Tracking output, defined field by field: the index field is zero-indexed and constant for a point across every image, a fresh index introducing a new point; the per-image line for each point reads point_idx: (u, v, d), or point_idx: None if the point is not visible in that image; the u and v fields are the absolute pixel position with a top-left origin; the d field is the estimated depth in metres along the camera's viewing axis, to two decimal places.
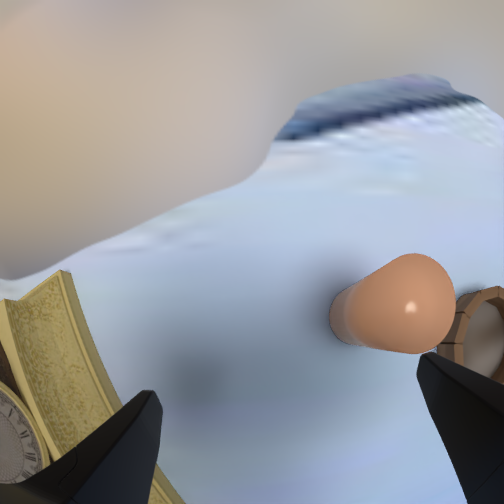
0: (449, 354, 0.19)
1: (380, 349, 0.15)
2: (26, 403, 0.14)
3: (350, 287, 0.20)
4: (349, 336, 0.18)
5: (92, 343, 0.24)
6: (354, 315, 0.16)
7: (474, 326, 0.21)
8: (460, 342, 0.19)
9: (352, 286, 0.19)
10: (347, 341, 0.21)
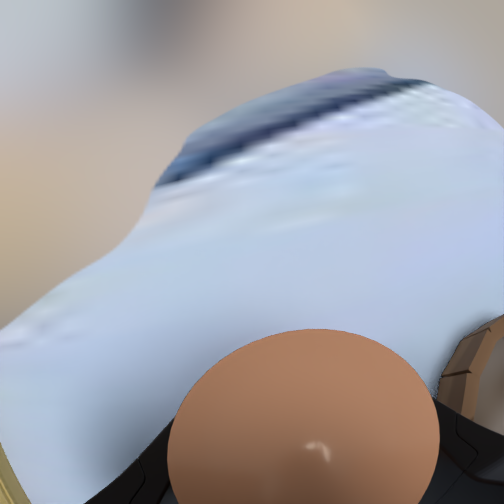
0: None
1: None
2: None
3: None
4: None
5: None
6: None
7: (488, 377, 0.12)
8: (470, 417, 0.10)
9: None
10: None
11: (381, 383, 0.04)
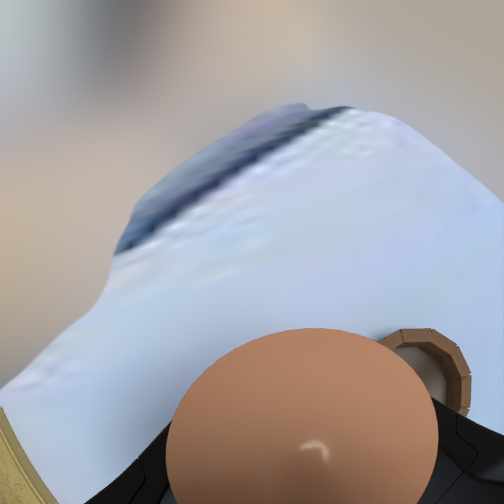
0: None
1: None
2: None
3: None
4: None
5: (30, 465, 0.17)
6: None
7: None
8: None
9: None
10: None
11: (379, 382, 0.04)
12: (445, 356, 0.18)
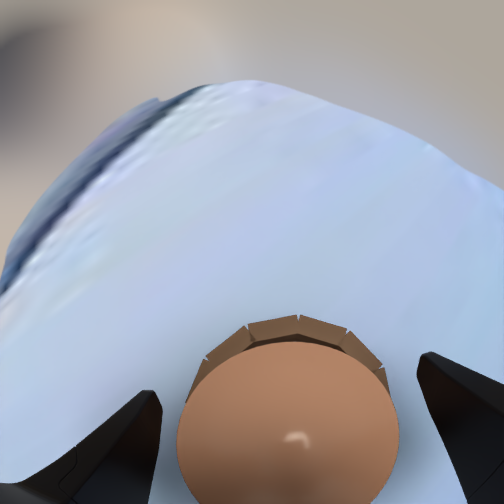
0: None
1: None
2: None
3: None
4: None
5: None
6: None
7: None
8: None
9: None
10: None
11: (346, 386, 0.06)
12: (336, 348, 0.15)
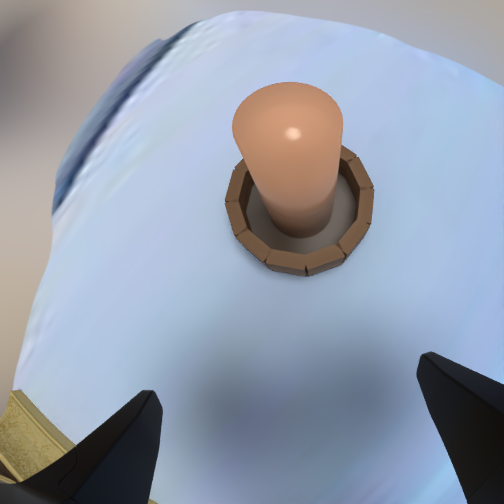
0: (247, 248, 0.21)
1: (296, 200, 0.15)
2: None
3: None
4: (276, 213, 0.18)
5: (52, 426, 0.23)
6: (251, 175, 0.15)
7: None
8: (244, 228, 0.21)
9: None
10: (289, 229, 0.20)
11: (307, 93, 0.12)
12: None
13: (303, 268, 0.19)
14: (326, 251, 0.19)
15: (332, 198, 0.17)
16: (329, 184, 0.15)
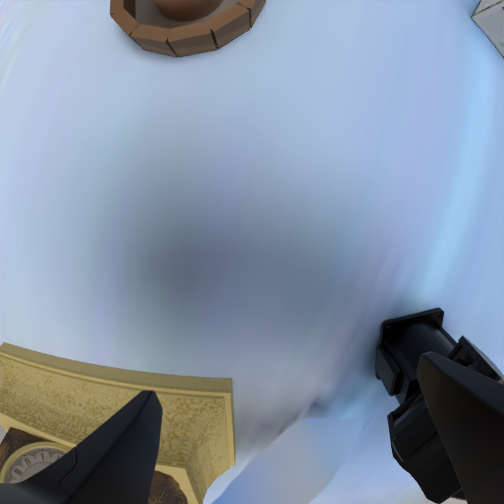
0: (145, 42, 0.14)
1: None
2: (47, 439, 0.17)
3: None
4: None
5: (44, 355, 0.24)
6: None
7: None
8: (136, 25, 0.13)
9: None
10: (183, 8, 0.13)
11: None
12: None
13: (209, 32, 0.13)
14: (228, 11, 0.13)
15: None
16: None
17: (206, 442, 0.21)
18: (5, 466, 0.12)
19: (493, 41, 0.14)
